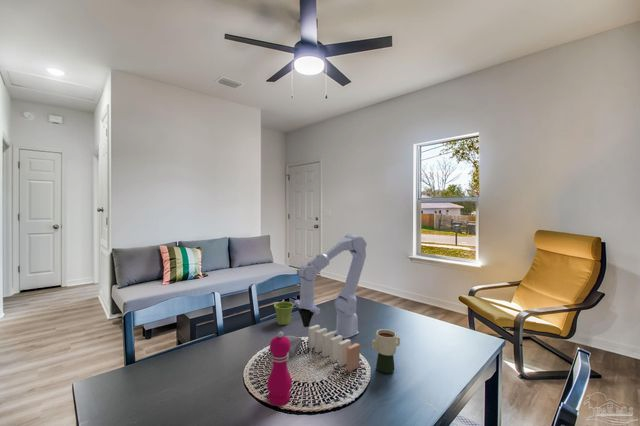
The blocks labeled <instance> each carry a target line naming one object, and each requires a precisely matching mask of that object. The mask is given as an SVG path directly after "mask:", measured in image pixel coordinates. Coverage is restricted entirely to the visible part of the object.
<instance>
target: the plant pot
mask: <svg viewBox="0 0 640 426" xmlns="http://www.w3.org/2000/svg"><path fill="white" fill-rule="evenodd" d="M294 306H295V305H294V303H293V302H290V301H280V302H276V303H274V305H273V307H274V310H275V315H276V316H275V317H276V322H277V323H276V324H278V325H281V326H283V325H284V326H286V325H289V324H290V322H291V316H292V312H293V311H292V310H293V309H294Z"/></svg>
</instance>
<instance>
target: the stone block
mask: <svg viewBox="0 0 640 426" xmlns="http://www.w3.org/2000/svg"><path fill="white" fill-rule="evenodd" d="M285 337H287V338H288V339H289V341H290V345H291V346H290V350H289V351H288V353H289V355H288V356H289V358H292V359H293V358H295V356H296V355H297V353H298V351H299V350H300V348H301V346H302V337H298V336H294V335H285Z"/></svg>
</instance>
